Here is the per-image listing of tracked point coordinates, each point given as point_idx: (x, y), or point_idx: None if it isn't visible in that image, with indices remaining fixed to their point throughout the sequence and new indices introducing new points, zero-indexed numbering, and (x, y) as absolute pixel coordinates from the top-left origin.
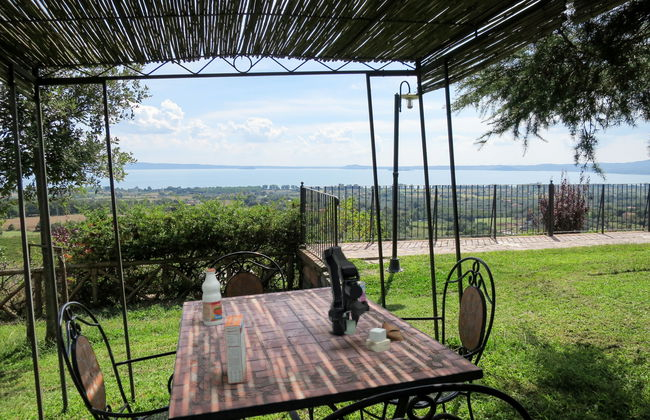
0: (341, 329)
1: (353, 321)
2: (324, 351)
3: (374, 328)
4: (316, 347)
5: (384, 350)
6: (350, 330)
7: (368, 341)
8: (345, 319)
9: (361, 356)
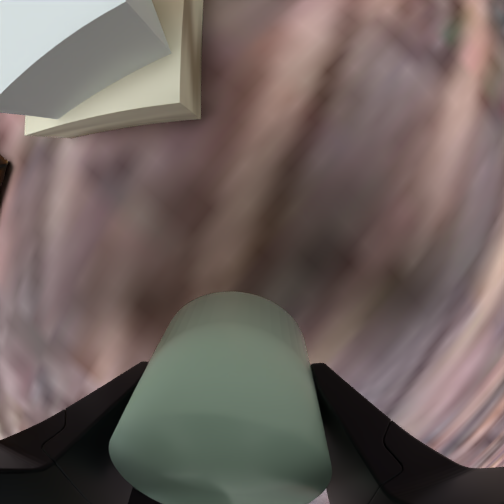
0: None
1: (163, 441)
2: (468, 294)
3: (6, 79)
4: (438, 378)
5: None
6: (277, 333)
7: (182, 66)
8: (461, 486)
9: (358, 16)
